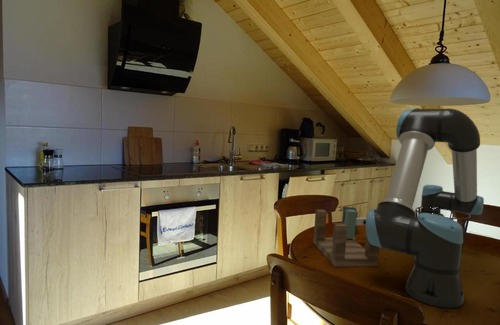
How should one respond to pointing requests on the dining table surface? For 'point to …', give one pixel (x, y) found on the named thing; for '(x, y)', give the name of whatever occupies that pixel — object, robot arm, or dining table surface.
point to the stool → (342, 245)
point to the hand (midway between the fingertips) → (354, 221)
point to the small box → (344, 214)
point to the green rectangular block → (350, 223)
